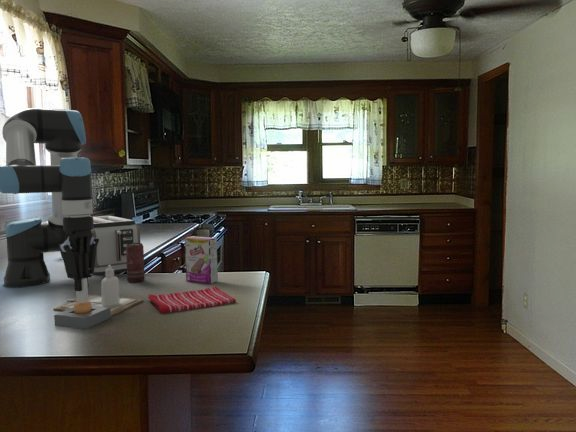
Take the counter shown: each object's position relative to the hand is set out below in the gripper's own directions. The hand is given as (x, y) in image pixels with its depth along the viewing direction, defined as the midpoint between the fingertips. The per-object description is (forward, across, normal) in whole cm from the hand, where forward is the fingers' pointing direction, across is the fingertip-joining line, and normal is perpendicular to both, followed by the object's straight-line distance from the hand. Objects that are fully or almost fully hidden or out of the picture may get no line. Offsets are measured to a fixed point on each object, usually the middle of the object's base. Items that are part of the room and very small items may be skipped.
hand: (82, 301), depth 131 cm
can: (+6, +45, +15) cm, 48 cm away
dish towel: (+6, +26, -19) cm, 33 cm away
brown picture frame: (+6, +14, +6) cm, 16 cm away
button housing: (+6, 0, 0) cm, 6 cm away
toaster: (+6, +64, +43) cm, 77 cm away
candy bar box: (+6, +51, -9) cm, 52 cm away
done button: (+4, 0, 0) cm, 4 cm away
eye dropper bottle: (+5, +14, +2) cm, 15 cm away
